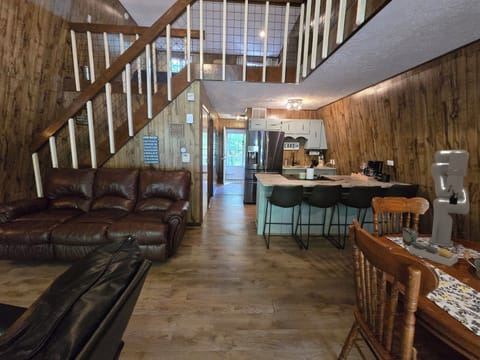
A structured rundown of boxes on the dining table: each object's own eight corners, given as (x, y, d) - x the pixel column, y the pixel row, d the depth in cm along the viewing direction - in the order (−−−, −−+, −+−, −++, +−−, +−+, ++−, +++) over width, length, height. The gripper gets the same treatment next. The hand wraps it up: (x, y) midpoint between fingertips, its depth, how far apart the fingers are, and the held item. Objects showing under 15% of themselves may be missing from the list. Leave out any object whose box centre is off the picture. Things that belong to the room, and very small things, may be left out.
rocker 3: (439, 251, 130) (441, 248, 129) (451, 257, 126) (453, 254, 125) (436, 253, 128) (437, 250, 127) (448, 259, 124) (449, 256, 123)
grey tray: (416, 249, 145) (416, 243, 144) (457, 262, 128) (458, 255, 127) (408, 252, 140) (409, 246, 140) (450, 266, 123) (450, 259, 122)
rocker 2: (426, 247, 136) (427, 244, 135) (437, 252, 131) (438, 250, 131) (422, 249, 134) (423, 246, 133) (434, 254, 129) (435, 251, 128)
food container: (421, 249, 145) (422, 234, 144) (410, 248, 146) (412, 233, 145) (411, 241, 157) (412, 228, 156) (401, 241, 158) (402, 227, 157)
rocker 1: (413, 243, 141) (414, 241, 141) (424, 248, 137) (425, 246, 136) (410, 245, 139) (411, 242, 139) (420, 250, 135) (421, 247, 134)
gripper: (453, 171, 134) (449, 201, 137) (442, 173, 127) (439, 204, 130) (470, 172, 127) (466, 203, 130) (460, 174, 120) (456, 207, 123)
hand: (452, 204), depth 130 cm, fingers closed
